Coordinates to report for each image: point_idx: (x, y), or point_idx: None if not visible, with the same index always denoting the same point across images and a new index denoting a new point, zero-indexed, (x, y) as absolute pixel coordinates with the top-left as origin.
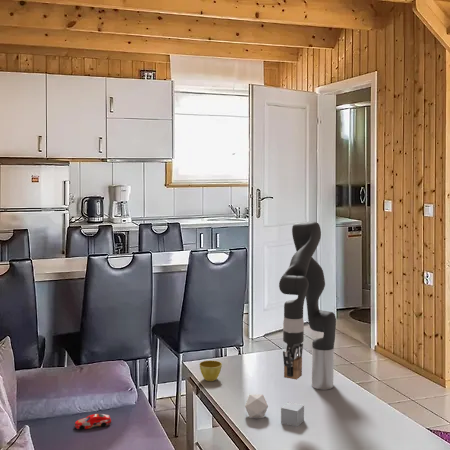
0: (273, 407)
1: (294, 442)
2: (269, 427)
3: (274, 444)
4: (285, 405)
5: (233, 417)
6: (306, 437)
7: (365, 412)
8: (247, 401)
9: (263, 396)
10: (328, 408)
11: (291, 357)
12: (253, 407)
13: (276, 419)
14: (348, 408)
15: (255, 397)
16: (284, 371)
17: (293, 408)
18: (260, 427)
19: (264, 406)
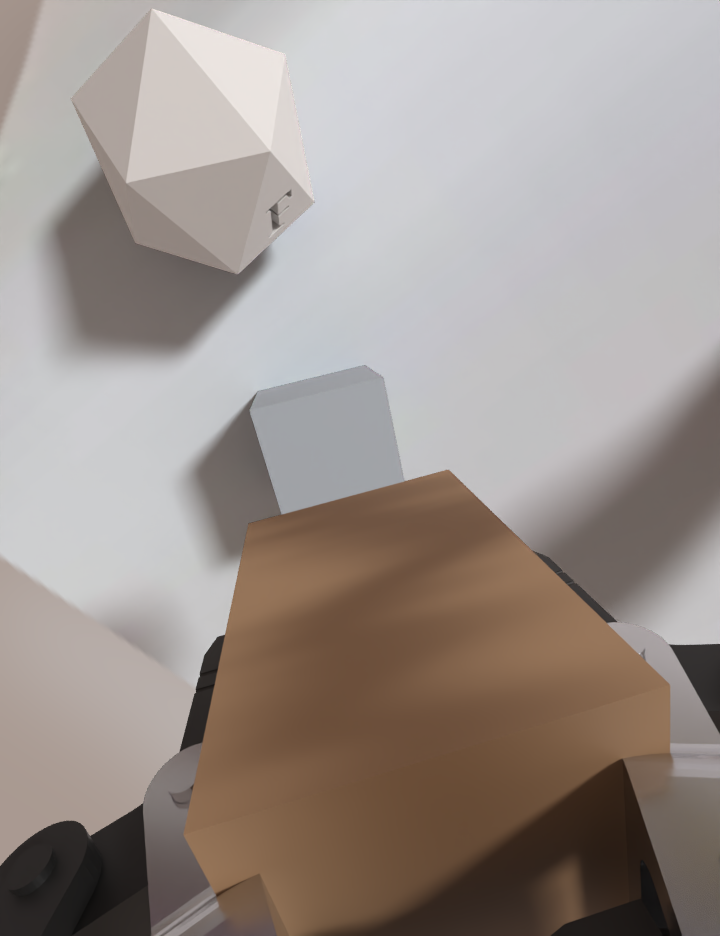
0: (433, 180)
1: (118, 597)
2: (151, 378)
3: (4, 545)
4: (310, 407)
5: (55, 29)
6: (215, 600)
7: (657, 613)
8: (101, 69)
9: (258, 173)
10: (613, 464)
11: (490, 854)
12: (113, 185)
13: (282, 333)
14: (664, 535)
15: (146, 136)
16: (241, 578)
17: (307, 483)
18: (102, 334)
19: (203, 257)
